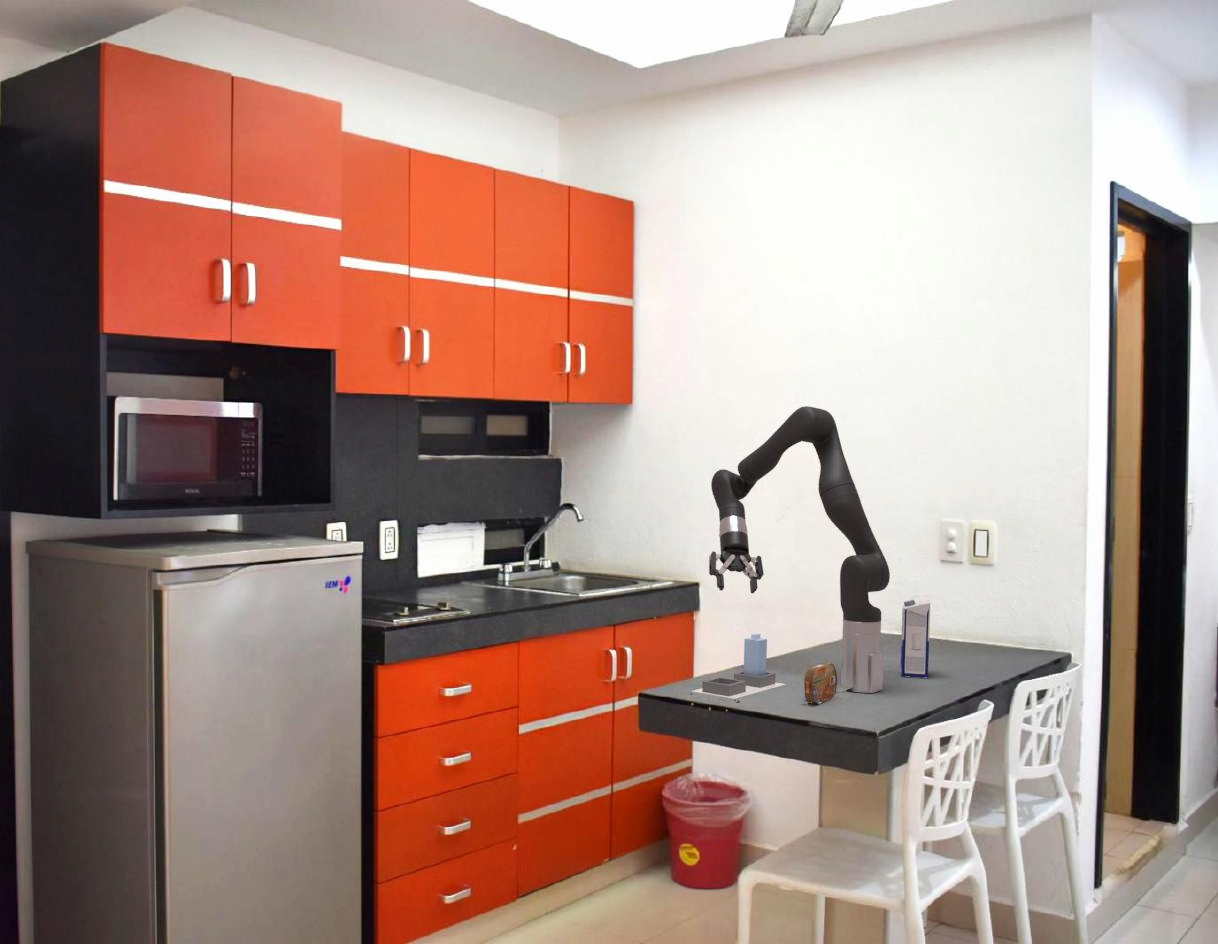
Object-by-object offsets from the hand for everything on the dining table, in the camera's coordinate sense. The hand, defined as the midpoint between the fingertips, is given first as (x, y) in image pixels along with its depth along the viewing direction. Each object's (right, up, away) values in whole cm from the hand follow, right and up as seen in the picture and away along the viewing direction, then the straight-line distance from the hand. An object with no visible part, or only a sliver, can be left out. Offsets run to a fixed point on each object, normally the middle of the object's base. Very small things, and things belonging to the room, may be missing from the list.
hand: (737, 590), depth 313 cm
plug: (+2, -21, -19) cm, 28 cm away
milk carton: (+47, -23, +3) cm, 52 cm away
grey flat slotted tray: (-2, -22, -24) cm, 33 cm away
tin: (+16, -23, -32) cm, 42 cm away
